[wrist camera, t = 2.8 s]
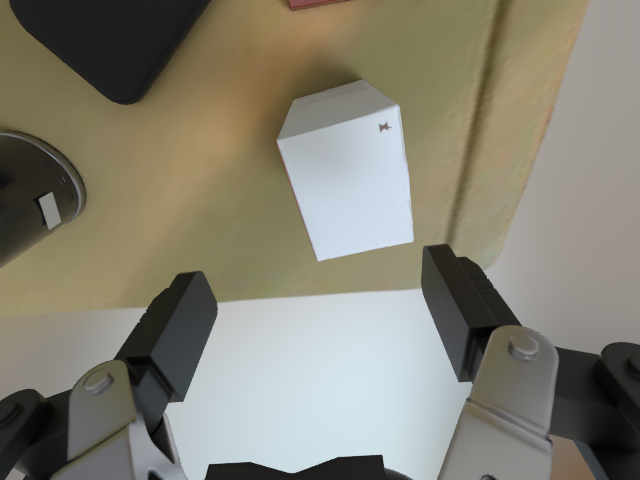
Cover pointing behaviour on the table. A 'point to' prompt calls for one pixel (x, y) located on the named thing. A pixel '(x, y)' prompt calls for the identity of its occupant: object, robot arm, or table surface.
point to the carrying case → (111, 38)
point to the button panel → (311, 3)
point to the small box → (348, 169)
